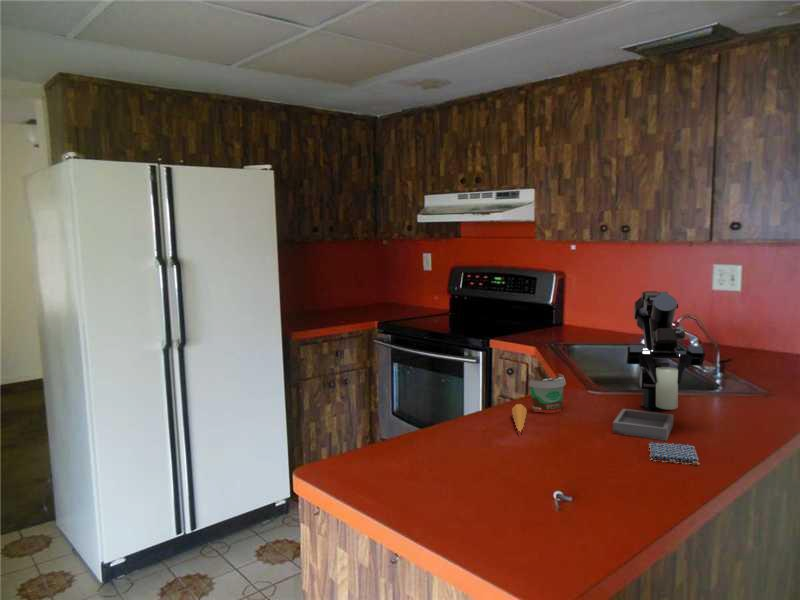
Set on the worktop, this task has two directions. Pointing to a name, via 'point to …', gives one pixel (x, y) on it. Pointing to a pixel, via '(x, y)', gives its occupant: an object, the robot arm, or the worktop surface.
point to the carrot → (519, 416)
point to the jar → (667, 387)
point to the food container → (547, 393)
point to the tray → (643, 424)
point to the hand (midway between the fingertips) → (667, 383)
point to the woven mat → (673, 453)
